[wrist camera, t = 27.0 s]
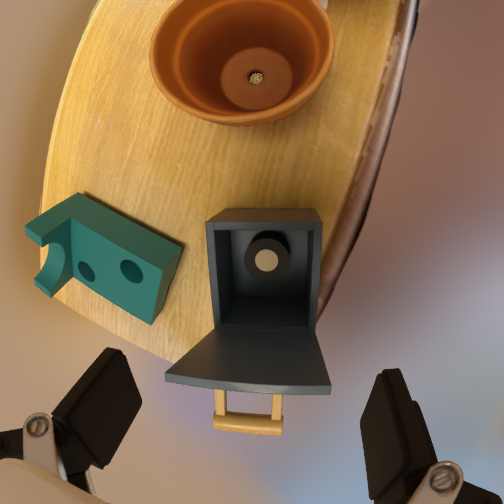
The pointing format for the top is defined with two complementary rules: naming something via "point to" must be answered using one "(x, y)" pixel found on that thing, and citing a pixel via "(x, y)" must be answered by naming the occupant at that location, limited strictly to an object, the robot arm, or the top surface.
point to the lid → (253, 373)
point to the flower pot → (241, 57)
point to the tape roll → (267, 256)
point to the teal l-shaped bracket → (104, 255)
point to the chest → (257, 291)
